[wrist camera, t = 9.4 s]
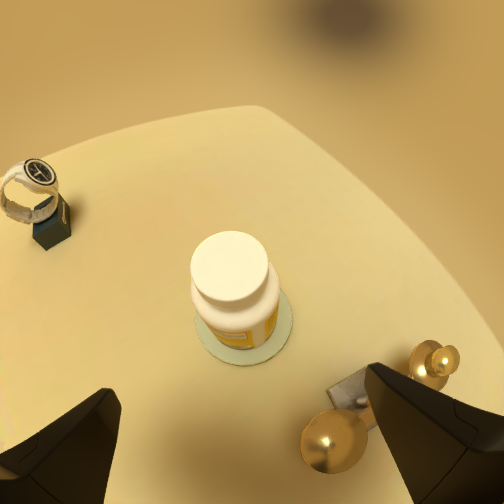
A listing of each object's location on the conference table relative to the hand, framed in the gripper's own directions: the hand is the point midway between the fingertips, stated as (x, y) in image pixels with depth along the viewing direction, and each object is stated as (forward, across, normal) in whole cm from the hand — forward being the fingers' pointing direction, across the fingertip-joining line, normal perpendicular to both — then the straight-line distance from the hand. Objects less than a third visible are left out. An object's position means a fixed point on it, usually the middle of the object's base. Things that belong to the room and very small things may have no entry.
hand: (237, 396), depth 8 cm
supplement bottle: (+14, 0, +4) cm, 14 cm away
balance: (+8, -9, +11) cm, 16 cm away
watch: (+24, +23, -5) cm, 34 cm away
